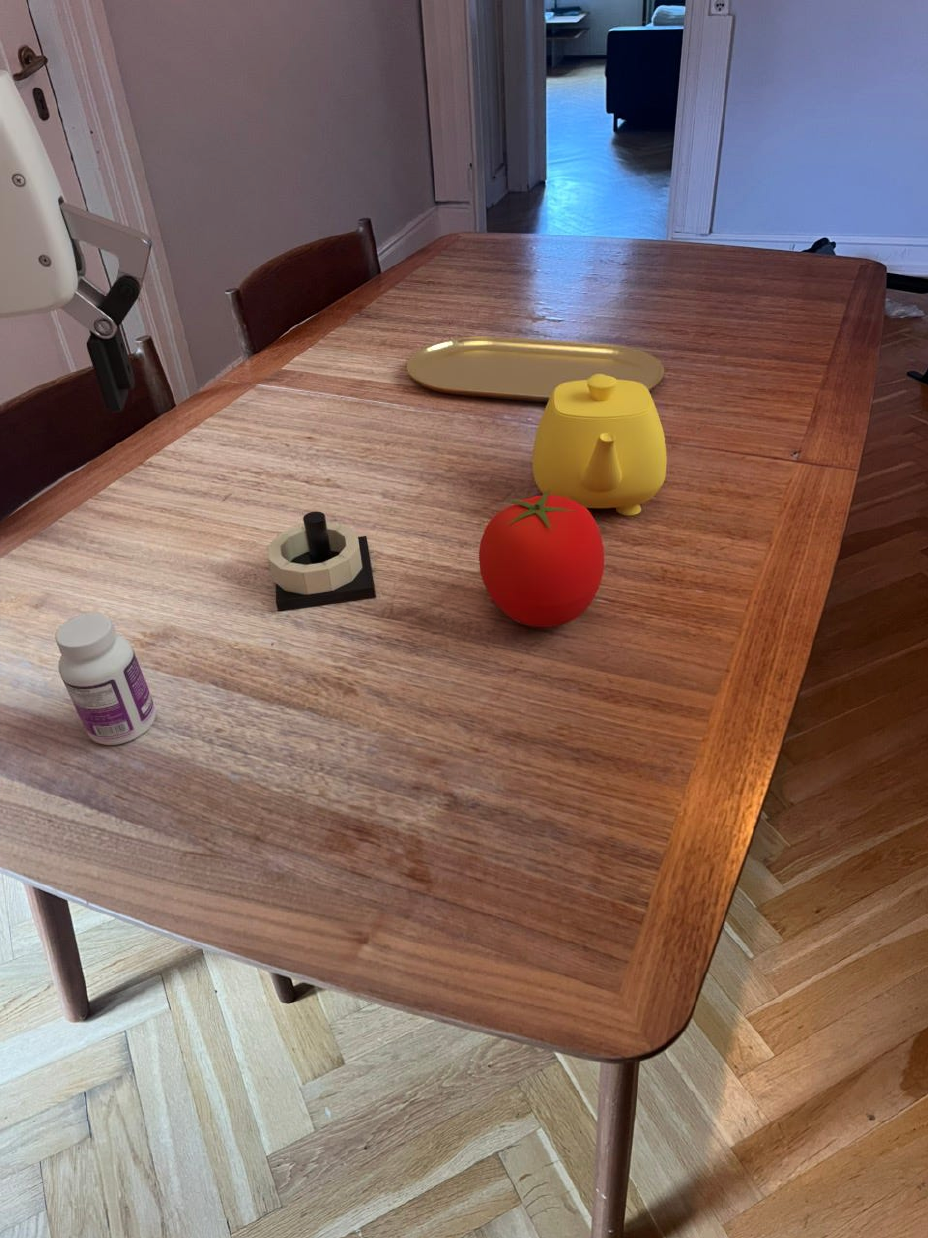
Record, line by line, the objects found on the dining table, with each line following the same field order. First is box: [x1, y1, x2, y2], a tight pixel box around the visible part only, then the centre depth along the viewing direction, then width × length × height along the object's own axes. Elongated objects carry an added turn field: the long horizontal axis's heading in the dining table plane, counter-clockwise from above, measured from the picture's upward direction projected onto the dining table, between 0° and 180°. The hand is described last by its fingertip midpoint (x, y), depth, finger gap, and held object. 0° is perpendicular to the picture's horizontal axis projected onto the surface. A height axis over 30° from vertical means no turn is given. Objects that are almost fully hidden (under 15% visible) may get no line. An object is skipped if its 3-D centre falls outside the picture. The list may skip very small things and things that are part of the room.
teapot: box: [531, 374, 668, 516], centre depth 89 cm, size 14×20×13 cm
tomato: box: [478, 490, 605, 628], centre depth 75 cm, size 10×11×11 cm
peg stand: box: [275, 511, 377, 612], centre depth 82 cm, size 9×9×7 cm
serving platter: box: [406, 335, 665, 403], centre depth 119 cm, size 19×35×2 cm, turn 71°
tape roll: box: [267, 521, 362, 595], centre depth 83 cm, size 8×8×2 cm
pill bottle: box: [54, 612, 157, 746], centre depth 67 cm, size 5×5×10 cm
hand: (29, 412), depth 49 cm, fingers open, 9 cm apart
